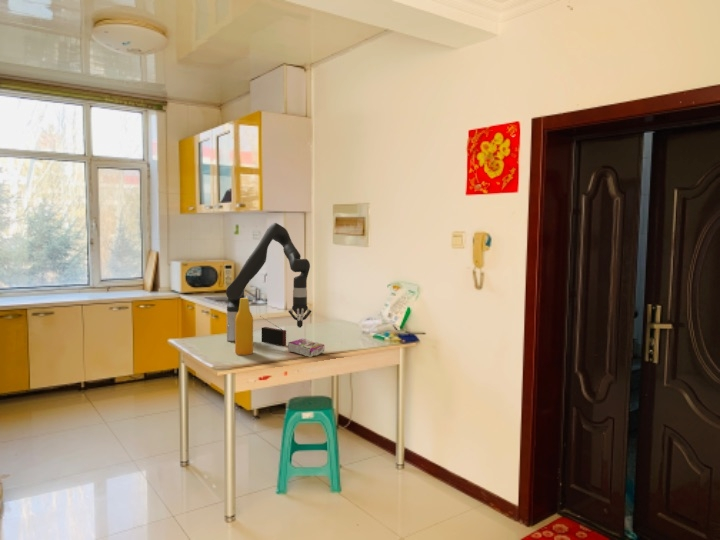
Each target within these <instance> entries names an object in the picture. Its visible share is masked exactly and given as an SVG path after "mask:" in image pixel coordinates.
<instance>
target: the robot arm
mask: <svg viewBox="0 0 720 540" xmlns="http://www.w3.org/2000/svg"><path fill="white" fill-rule="evenodd" d="M259 241H260V242H259V243H258V244H257V245H256V246H255V248H254V250H253V252H252V253H251V254H250V256H249V257H248V258H247V260H246V261H245V262H244V264H243V266H242V267H241V269H240V271H239V272H238V274H237V275H236V276H235V278H234V279H233V281H232V282H231V283H230V284H229V285H227V287H226V291H225V295H226V297H227V306H226V342H235V319H236V315H237V313H238V311H239V304H240V298H245V289H246V287H247V286H248V284H249V283H250V281H251V280H252V279H253V278H254V277H255V276H256V275H257V274H258V273H259V272H260V271H261V269H262V267H264V265H265V263H266V261H267V258H268V248H269V246H270V244H271V243H272V241H275V242H278V244H279V245H281V246H282V247H283V254H284V256H285V257H286V259H287V260H288V262H289V268H290V270H291V271H292V272H293V273H300V274H299V275H297V276H295V277H293V289H292V307H291V309H289V310H288V313H289V314H290V316H291V317H292V318H293V320H295V321H296V326H297V328H302V327H303V321H304V320H307V318H308V317H309V316H310V314H311V313H312V310H311V309H309V307H308V289H307V284H308V283H307V280H308V275H309V272H310V268H311V265H310V260H308V259H307V258H301V253H300V252H299V251H298V249H297V248H296V246H295V244H294V243H293V242H292V241H293V240H292V239H291V237H290V235H289V231H288V230H287V229H286V228H285V227H284V226H282V225H280V224H279V223H277V222H273V223H271V224H270V225H269V226H268V228H266V230H265V233H264V234H263V236H262V238H261V240H259ZM294 313H295V314H296V316H295V315H294Z"/></svg>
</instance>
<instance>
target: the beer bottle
mask: <svg viewBox="0 0 720 540" xmlns="http://www.w3.org/2000/svg"><path fill="white" fill-rule="evenodd" d="M234 342H235V346H234V348H235V349H234V351H235V352H234V353H235V354H236V355H238V356H248V355H251V354H252V355H253V353H254V316H253V315H252V312H251V310H250V302H249V298H248V297H244V298H240V304H239V311H238V313H237V315H236V319H235V341H234Z"/></svg>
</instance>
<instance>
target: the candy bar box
mask: <svg viewBox="0 0 720 540" xmlns="http://www.w3.org/2000/svg"><path fill="white" fill-rule="evenodd" d="M287 345H288V347H287V350H288V352H291V353H295V354H299V355H301V356H304V357H308V358H312V357H315V356H318V355H319V356H320V355H323V354H325V344H323V343H319V342H316V341H313V340H309V339H306V338H300V339H296V340H293V341H289V342H288V343H287Z"/></svg>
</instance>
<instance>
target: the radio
mask: <svg viewBox="0 0 720 540" xmlns="http://www.w3.org/2000/svg"><path fill="white" fill-rule="evenodd" d="M259 317H260V318H262V319H264V320H265V321H267V322H269V323H270V324H272V325H273V326H275V327H276V328H275V327H268V326H264V327H261V343H266V344H270V345H271V344H272V345H275V346H280V347H281V346H282V347H284V346H286V345H287V330H286V329H282V328H281V327H279V326H277V325H276V324H274V323H272V322H271V321H268V320H267V319H265V318H264V317H263V316H261V315H260V316H259Z"/></svg>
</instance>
